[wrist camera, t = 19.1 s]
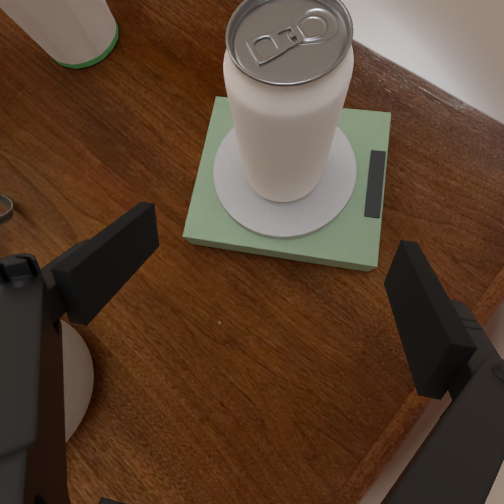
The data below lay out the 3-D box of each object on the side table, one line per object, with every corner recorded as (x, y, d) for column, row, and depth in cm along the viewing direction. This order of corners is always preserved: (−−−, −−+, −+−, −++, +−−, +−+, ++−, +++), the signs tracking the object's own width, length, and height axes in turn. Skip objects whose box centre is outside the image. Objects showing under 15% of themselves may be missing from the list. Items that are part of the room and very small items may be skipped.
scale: (381, 129, 28) (394, 106, 25) (368, 272, 25) (381, 265, 22) (220, 113, 30) (214, 89, 27) (190, 243, 27) (179, 233, 24)
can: (336, 184, 24) (393, 53, 12) (264, 217, 24) (252, 117, 12) (300, 122, 25) (320, -46, 14) (232, 153, 25) (194, 10, 14)
